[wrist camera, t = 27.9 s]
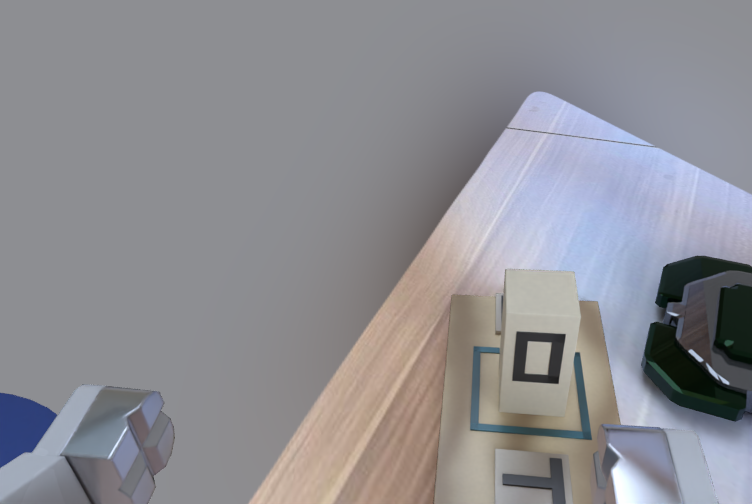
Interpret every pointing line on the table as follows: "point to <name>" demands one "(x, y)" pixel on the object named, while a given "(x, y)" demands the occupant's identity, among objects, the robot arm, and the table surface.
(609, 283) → the table surface
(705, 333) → the four-lobed dark green device
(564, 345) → the letter block
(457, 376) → the word board
